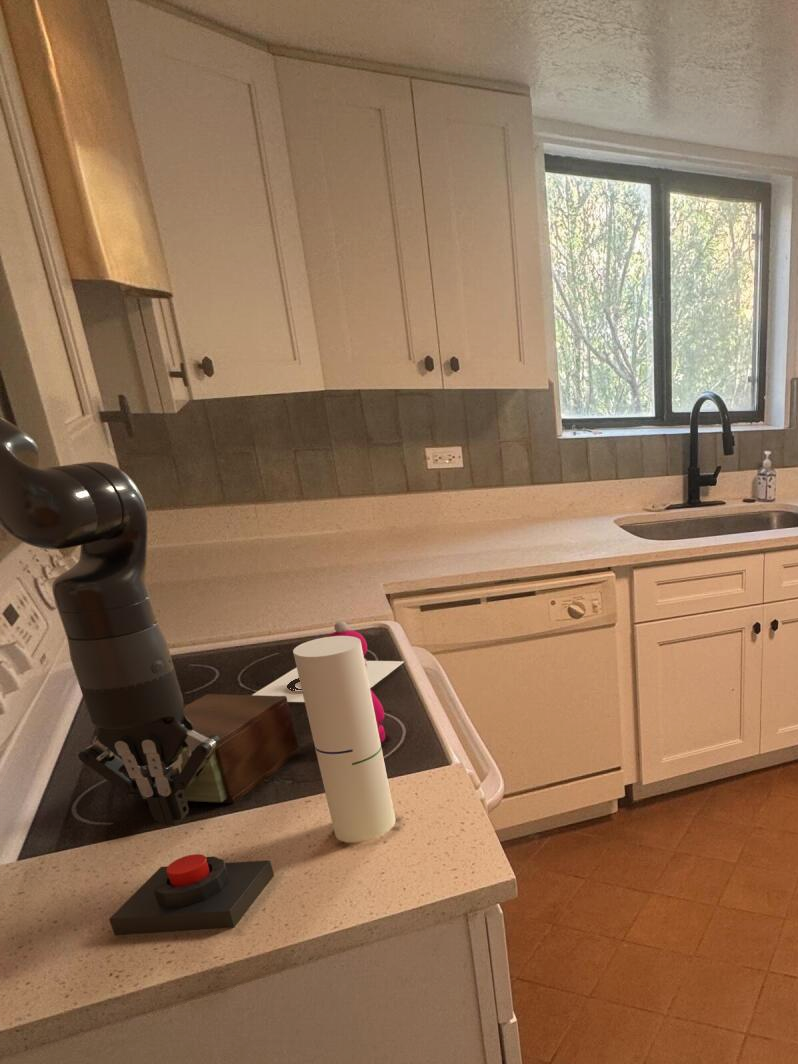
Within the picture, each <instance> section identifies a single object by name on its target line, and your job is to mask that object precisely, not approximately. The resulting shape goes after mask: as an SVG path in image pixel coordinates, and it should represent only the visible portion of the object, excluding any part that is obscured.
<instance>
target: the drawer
mask: <svg viewBox="0 0 798 1064" xmlns="http://www.w3.org/2000/svg"><path fill="white" fill-rule="evenodd" d="M187 748H188V745H185V747H184V749H183V751H182V753H181V754H182V758H183V762H182V764H181V769H183V768H184V766H185V764H186V763H187V761H188V759H189V758H190V756H188V755H187ZM125 794H127V795H141V798H142V800H147V798H146V797H144V796H143V795H142V794H141V793H140V792H136V791H132V792H131V793H125ZM184 794H185V797H186V801H202V802H201V803H209V802H223V801H224V800H225V799H227V798H228V797H227V793H226V790H225V786H224V782H223V779H222V775H221V772H220V768H219V764H218V761H217V757H216V754H215V752H214V753H213V755H212V757H211V758H210V760H209V761H208V763H207V765H206V766H205V768H204V769H203V771H202V773H201V774H200V776H199V777H198V778H197V779H196V780H195V781H194V782H192V783H191V784H190V785H189V786H188V787H187V788H186V789H184Z"/></svg>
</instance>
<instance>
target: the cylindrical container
mask: <svg viewBox="0 0 798 1064" xmlns="http://www.w3.org/2000/svg"><path fill="white" fill-rule="evenodd" d="M292 653H293V657H294V660H295V666H296V667H297V671H298V675H299V680H300V684H301V688H302V693H303V697H304V701H305V702H304V706H305V710H306V714H307V719H308V722H309V727H310V733H311V737H312V740H313V744H314V750H315V754H316V758H317V762H318V767H319V771H320V775H321V780H322V784H323V787H324V788H323V789H324V793H325V797H326V801H327V806H328V811H329V815H330V819H331V823H332V828H333V832H334V837H335V838H336V839H337V840H339V841H341V842H345V843H361V842H366V841H370V840H374V839H376V838H379V837H381V836H382V835H384V834H386V833H387V832H389V831H390V830H391V829H392V828H393V827H394V826H395V824H396V814H395V811H394V810H395V809H394V805H393V799H392V794H391V789H390V785H389V779H388V773H387V769H386V764H385V759H384V753H383V748H382V743H380V738H379V732H378V727H377V722H376V717H375V712H374V707H373V702H372V697H371V691H370V689H371V688H370V686H369V681H368V676H367V671H366V666H365V661H364V658H365V655H364V656H363V651H362V645H361V640H360V639H358V638H356V637H352V636H331V637H328V636H326V637H320V638H315V639H312V640H308V641H305V642H302V643H301V644H299V645H297V646H296V647H294V649H293V650H292Z"/></svg>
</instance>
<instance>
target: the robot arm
mask: <svg viewBox="0 0 798 1064" xmlns="http://www.w3.org/2000/svg"><path fill="white" fill-rule="evenodd" d="M41 456H42V455H41V451H40V448H39V446H38V444H37V442H36V441H35V440H34V439H33V438H32V437H31V436H30V435H29V434H28V433H26V432H25V431H24V430H22V429H20V428H19V427H18V426H16V425H15V424H13V423H12V422H10V421H8V420H6V419H4V418H3V417H1V416H0V528H1V529H2V530H3V531H4V532H6V533H7V534H8V535H10V536H11V537H12V538H14V539H16V540H18V541H19V542H21V543H24V544H27V545H30V546H32V547H36V548H39V549H44V550H51V551H52V550H54V551H55V550H67V549H71V548H75V547H78V546H79V547H80V549H79V550H80V551H79V558H78V561H77V562H76V564H74V565H73V566H72V567H71V568H69V569H68V570H66V571H65V572H63V573H61V574H59V575H58V576H57V577H56V578H55V579H54V580H53V582H52V585H51V590H52V596H53V599H54V603H55V605H56V609H57V612H58V616H59V617H60V621H61V624H62V627H63V630H64V633H65V636H66V640H67V645H68V649H69V650H68V651H69V655H70V656H69V658H70V661H71V665H72V667H73V670H74V674H75V676H76V680H77V683H78V685H79V689H80V691H81V692H80V693H81V694H82V697H83V701H84V703H85V707H86V710H87V713H88V716H89V719H90V721H91V723H92V724H93V725H94V726H96V727H97V729H96V732H95V735H96V736H95V737H96V741H94V742H93V743H92V744H90V745H89V746H87V747H85V748H84V749H83V750H82V751H80V752H79V753H78V755H77V757H78V759H79V761H81V763H83V764H84V765H86V766H88V767H89V768H90V769H92V770H93V771H95V773H97V774H98V775H99V776H101V777H103V778H104V779H105V780H106V781H108V782H109V783H111V784H112V785H113V786H115V788H117V789H118V790H120V791H121V792H123V793H125V794H126V793H131V792H132V791H136V792H140V793H141V794H142V795H143V796H144V797H146V798H147V799H146V800H147V804H148V806H149V809H150V812H151V816H152V818H153V820H154V821H155V822H158V824H159V826H160V827H172V826H178V825H179V824H180V823H181V822H183V820H184V819H185V818H186V816H187V815H188V814H189V810H190V807H189V804H188V802H187V801H186V797H185V794H184V789H186V788H187V787H188V786H189V785H190V784H191V783H192V782H194V781H195V780H196V779H197V778H198V777H199V776H200V774H201V773H202V771H203V769H204V768H205V766H206V765H207V763H208V761H209V760H210V758H211V757H212V755H213V753H214V752H215V750H216V748H217V747H218V745H219V744H220V739H219V737H217V736H215V735H211V736H209V737H208V738H207V737H205V736H203V735H201V734H199V733H197V732H195V731H193V725H192V723H191V722H190V721H189V720H188V719H187V717H186V716H185V714H184V707H185V706H184V705H185V704H184V696H183V693H182V689H181V686H180V683H179V680H178V676H177V672H176V669H175V666H174V662H173V659H172V656H171V655H172V654H171V652H170V648H169V645H168V642H167V640H166V637H165V635H164V633H163V631H162V628H161V626H160V624H159V622H158V619H157V616H156V611H155V608H154V604H153V602H152V598H151V595H150V591H149V587H148V585H147V568H148V567H147V566H148V532H149V531H148V529H149V528H148V527H149V525H148V524H149V521H148V510H147V506H146V503H145V500H144V497H143V495H142V493H141V490H140V489H139V487H138V486H137V484H136V483H135V482H134V480H133V479H132V478H131V477H130V476H129V475H128V474H127V473H126V472H125V471H123V470H122V469H120V468H119V467H117V466H115V465H113V464H110V463H107V462H103V461H87V462H77V463H71V464H66V465H58V466H52V467H46V468H45V467H44V468H40V465H41ZM186 743H187V745H188V748H187V755H188V756H190V758H189V759H188V761H187V763H186V764H185V766H184V768H183V769H181V764H182V762H183V758H182V754H181V753H182V751H183V749H184V747H185V745H186ZM141 794H140V795H141ZM142 795H141V796H142Z"/></svg>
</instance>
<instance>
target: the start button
mask: <svg viewBox="0 0 798 1064" xmlns="http://www.w3.org/2000/svg"><path fill="white" fill-rule="evenodd" d="M206 857H207V856H205V855H204V854H200V853H195V854H189V855H185V856H182V857H180V858H178V859H175V860H174V861H172V862H170V863H169V865H168V867H167V870H166V871H167V874H168V877H169V880H170V884H171V885H172V886H173V887H179V886H186V885H189V884H193V883H196V882H198V881H200V880H201V879H203V878H205V877H207V876H208V875H209V873H210V869H209V866H208V863H207V859H206Z"/></svg>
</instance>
